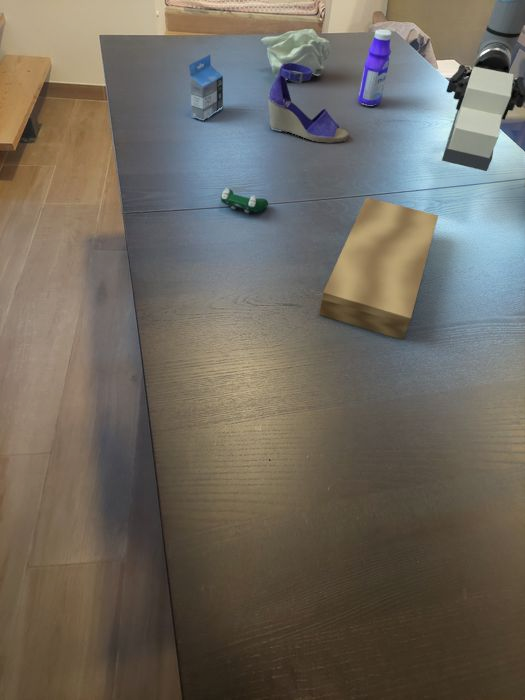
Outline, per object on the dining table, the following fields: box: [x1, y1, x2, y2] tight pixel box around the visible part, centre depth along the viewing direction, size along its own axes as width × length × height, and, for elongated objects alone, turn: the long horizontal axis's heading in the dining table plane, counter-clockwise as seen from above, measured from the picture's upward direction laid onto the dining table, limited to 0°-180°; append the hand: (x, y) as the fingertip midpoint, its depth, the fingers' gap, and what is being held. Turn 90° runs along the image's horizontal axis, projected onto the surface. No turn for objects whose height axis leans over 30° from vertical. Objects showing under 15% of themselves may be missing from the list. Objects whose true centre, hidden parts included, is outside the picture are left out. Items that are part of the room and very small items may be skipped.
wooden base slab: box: [318, 196, 439, 341], centre depth 90 cm, size 14×30×5 cm, turn 159°
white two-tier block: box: [441, 66, 515, 172], centre depth 100 cm, size 8×22×10 cm, turn 159°
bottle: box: [357, 28, 393, 105], centre depth 133 cm, size 7×6×17 cm
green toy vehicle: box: [220, 187, 269, 214], centre depth 101 cm, size 9×4×6 cm
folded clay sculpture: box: [260, 28, 332, 79], centre depth 144 cm, size 18×13×16 cm
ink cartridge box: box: [188, 54, 224, 119], centre depth 125 cm, size 9×4×12 cm, turn 150°
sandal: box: [268, 63, 349, 144], centre depth 120 cm, size 8×20×15 cm, turn 71°
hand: (482, 107), depth 99 cm, fingers closed on white two-tier block, 8 cm apart
